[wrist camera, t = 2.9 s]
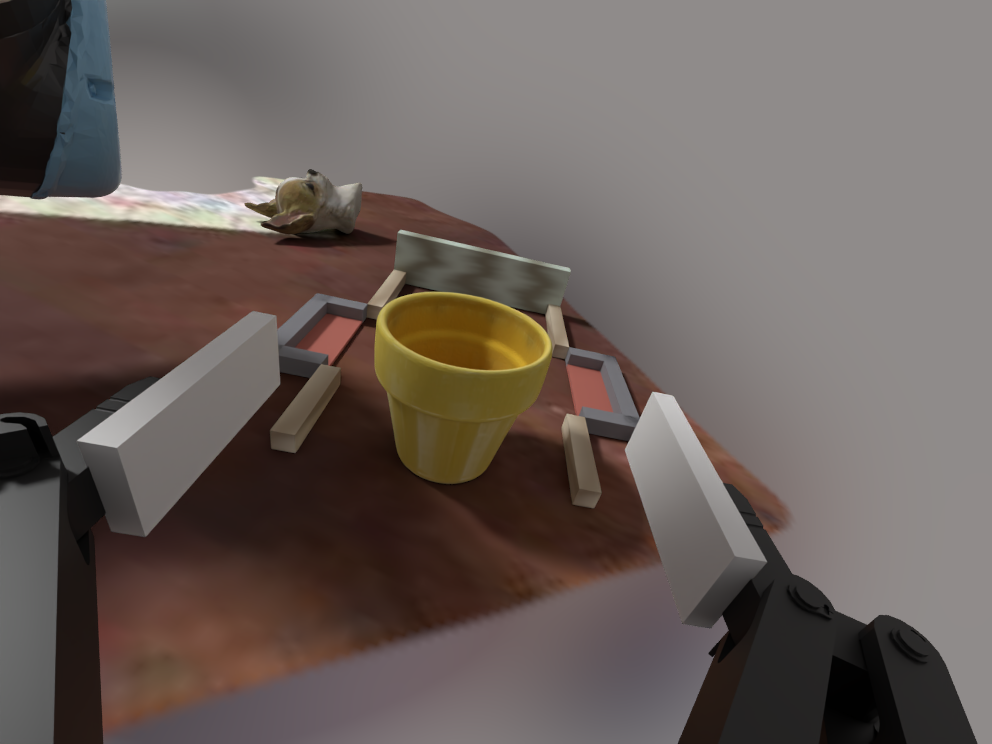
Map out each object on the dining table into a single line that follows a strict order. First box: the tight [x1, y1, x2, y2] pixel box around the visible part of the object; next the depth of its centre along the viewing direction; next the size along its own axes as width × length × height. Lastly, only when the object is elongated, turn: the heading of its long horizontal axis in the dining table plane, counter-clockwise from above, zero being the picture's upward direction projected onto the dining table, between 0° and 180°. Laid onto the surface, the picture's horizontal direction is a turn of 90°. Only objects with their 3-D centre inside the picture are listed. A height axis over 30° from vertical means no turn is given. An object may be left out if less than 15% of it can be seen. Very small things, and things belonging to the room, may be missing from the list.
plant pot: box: [375, 292, 553, 484], centre depth 28 cm, size 10×10×10 cm
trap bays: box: [277, 293, 640, 441], centre depth 39 cm, size 31×12×2 cm, turn 88°
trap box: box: [270, 230, 602, 508], centre depth 40 cm, size 21×32×6 cm, turn 178°
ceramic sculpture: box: [245, 169, 362, 234], centre depth 61 cm, size 11×9×15 cm
